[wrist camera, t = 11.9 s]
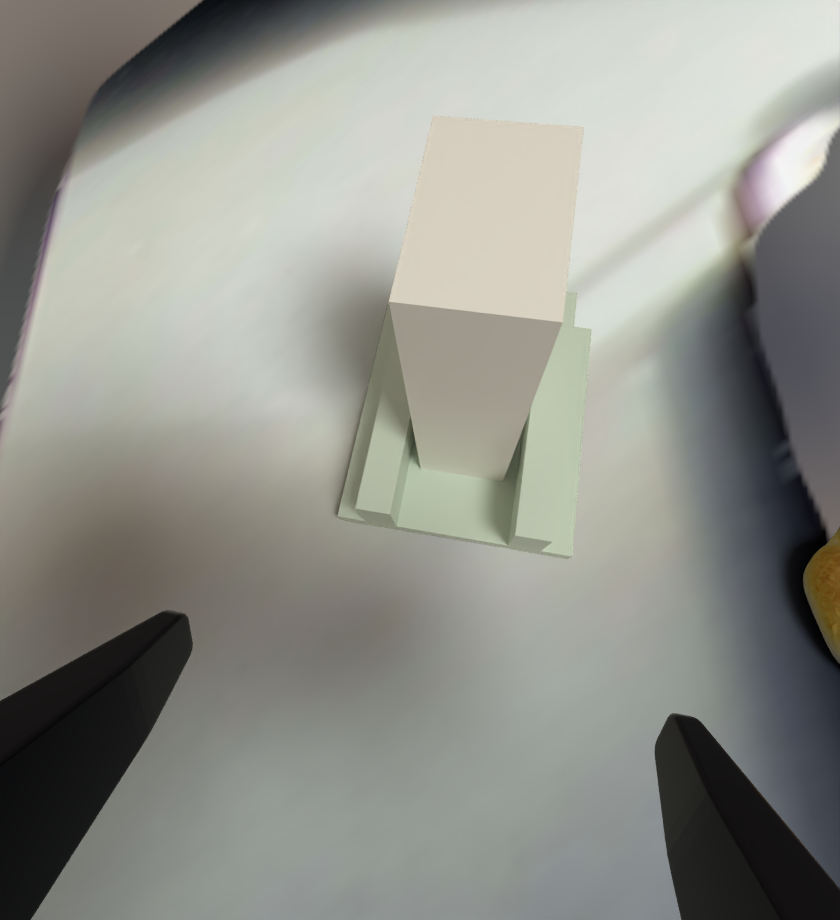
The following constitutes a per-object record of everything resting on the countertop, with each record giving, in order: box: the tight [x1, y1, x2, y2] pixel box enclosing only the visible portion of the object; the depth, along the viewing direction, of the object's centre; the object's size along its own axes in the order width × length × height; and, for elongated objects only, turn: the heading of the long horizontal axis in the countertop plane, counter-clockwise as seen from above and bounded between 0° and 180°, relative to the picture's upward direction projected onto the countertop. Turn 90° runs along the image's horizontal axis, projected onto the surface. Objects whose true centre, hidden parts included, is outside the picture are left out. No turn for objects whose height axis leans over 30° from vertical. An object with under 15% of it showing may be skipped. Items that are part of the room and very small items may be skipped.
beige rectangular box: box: [389, 116, 584, 481], centre depth 18 cm, size 6×4×13 cm, turn 170°
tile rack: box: [338, 292, 591, 559], centre depth 23 cm, size 12×11×4 cm
